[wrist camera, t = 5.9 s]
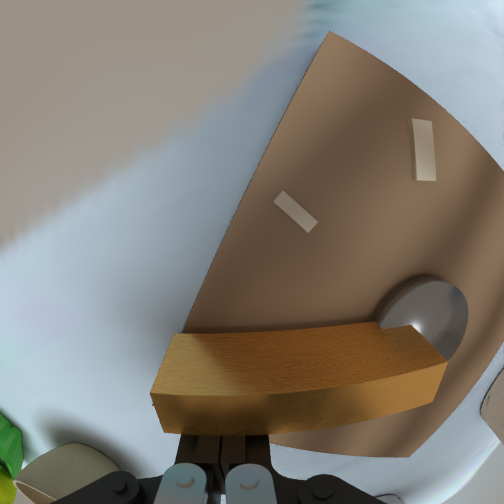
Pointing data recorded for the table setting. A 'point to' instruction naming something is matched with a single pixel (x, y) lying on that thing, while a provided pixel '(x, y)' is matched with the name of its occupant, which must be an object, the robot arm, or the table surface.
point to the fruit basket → (9, 459)
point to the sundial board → (363, 231)
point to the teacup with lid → (495, 407)
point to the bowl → (62, 472)
